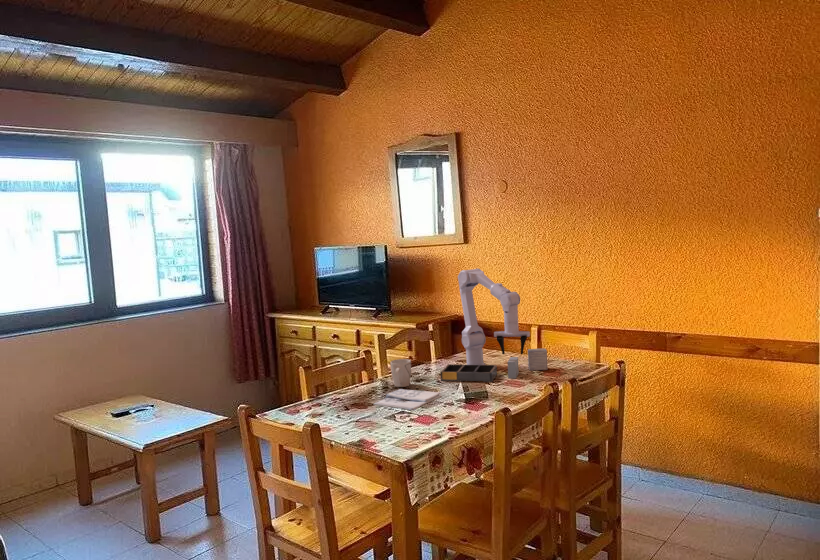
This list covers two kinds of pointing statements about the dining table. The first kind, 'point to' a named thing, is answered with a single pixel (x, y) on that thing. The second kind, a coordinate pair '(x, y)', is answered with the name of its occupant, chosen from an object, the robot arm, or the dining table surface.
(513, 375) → the panel
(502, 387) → the dining table surface
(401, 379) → the mug
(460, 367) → the rack
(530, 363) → the medicine box
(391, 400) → the open book
